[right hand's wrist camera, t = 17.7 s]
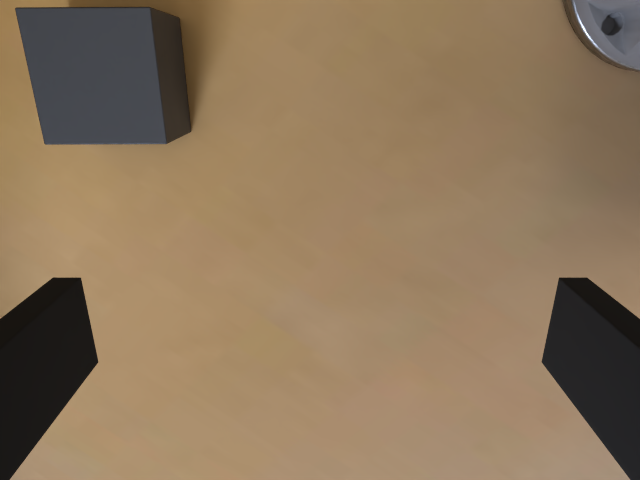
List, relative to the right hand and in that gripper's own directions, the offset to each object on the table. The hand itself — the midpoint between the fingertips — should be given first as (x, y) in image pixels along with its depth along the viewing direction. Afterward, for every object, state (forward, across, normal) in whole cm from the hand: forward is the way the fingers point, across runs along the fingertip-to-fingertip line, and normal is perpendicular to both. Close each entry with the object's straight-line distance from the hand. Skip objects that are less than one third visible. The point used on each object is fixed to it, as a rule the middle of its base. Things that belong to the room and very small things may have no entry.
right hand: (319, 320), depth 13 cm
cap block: (+25, +14, -6) cm, 29 cm away
